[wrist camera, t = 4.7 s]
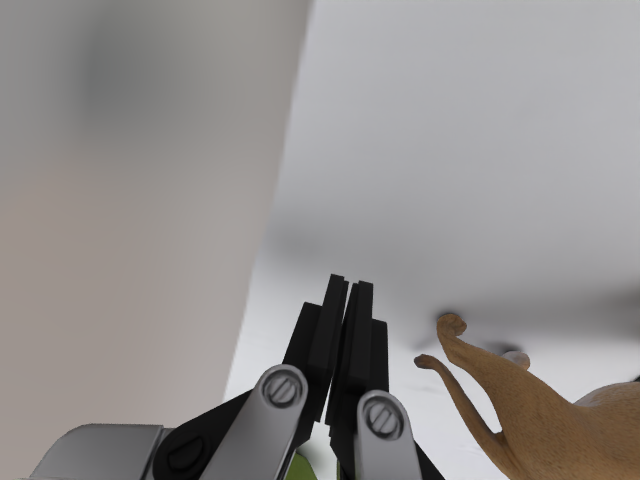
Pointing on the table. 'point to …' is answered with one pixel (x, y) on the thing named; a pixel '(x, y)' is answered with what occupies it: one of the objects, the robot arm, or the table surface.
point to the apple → (300, 469)
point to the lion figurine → (541, 416)
